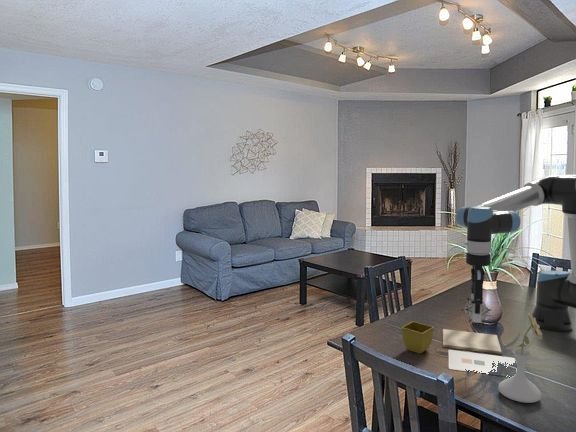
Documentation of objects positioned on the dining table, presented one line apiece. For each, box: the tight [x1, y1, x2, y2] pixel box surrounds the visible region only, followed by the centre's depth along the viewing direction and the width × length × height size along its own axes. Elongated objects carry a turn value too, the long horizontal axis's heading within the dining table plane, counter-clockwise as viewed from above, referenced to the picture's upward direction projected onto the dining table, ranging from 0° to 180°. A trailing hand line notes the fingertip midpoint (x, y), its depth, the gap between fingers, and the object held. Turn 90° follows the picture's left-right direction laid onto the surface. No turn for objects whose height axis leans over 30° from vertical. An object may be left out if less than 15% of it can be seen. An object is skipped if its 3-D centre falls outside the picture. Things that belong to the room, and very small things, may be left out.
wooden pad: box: [442, 328, 502, 355], centre depth 170 cm, size 20×16×1 cm
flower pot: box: [401, 321, 435, 354], centre depth 163 cm, size 9×9×9 cm
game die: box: [461, 297, 492, 323], centre depth 151 cm, size 9×8×10 cm
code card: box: [447, 349, 516, 378], centre depth 152 cm, size 22×16×1 cm
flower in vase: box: [497, 312, 543, 404], centre depth 130 cm, size 13×11×25 cm
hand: (475, 317), depth 151 cm, fingers closed on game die, 9 cm apart
